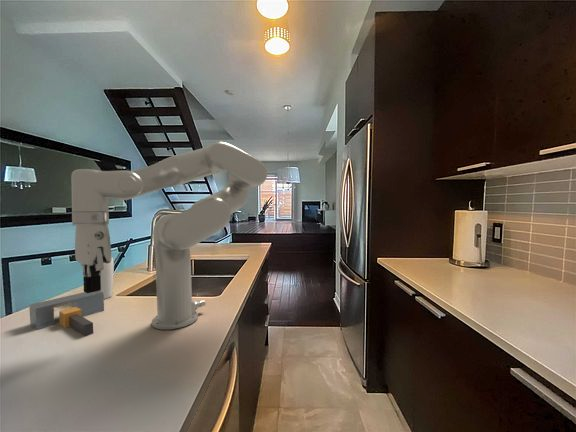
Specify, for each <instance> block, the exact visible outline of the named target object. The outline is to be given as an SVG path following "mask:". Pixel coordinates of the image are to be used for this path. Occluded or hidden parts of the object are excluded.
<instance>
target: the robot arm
mask: <svg viewBox="0 0 576 432" xmlns="http://www.w3.org/2000/svg"><path fill="white" fill-rule="evenodd" d="M220 172H221V173H222V172H225V173H227V174H228V181H227V184H226V186H225V187H224V188H222V189H220V190H217V192H214V193H212V194H210V195H208V196H205V197H204V198H201V199H198V200H197V201H195V202H193V203H192V205H191V206H190V208H188V209H186V210H184V211H182V212H180V213H177V214H176V213H175V214H174V213H170V214H165V215H163V216H161V217H160V218H158V219H157V221H156V222H155V223H154V226H153V230H152V238H153V246H154V256H155V283H156V285H155V286H156V307H157V308H156V311H157V315H156V316H154V317H153V318H152V320H151V326H152V327H153V328H155V329H157V330H175V329H180V328H184V327H187V326H189V325H191V324H193V323H195V322H196V321H197V320H198V317H199V313H198V312H197V310H198V309H199V308H202V307H204V306H206V301H205V299H202V300H199V301H197V300H193V297H192V296H193V295H192V265H191V264H192V263H191V262H192V261H191V260H192V259H191V251H190V248H191V247H194V246H195V245H197V244H199V243H201V242H203V241H206V239H208V238H209V237H211V236H213V235H216V234H217V233H218V232H220V231H222V230H223V229H224V228H225V227H226V226H227V225H228V224H229V222H230V220H231V218H232V217H231V216H232V214H234V213H236V212H237V211H239V210H240V209H241V208H242V207H244V206H245V204H246V202H247V199H248V198H249V197H248V196H249V191H250V188H255V187H259V186H261V185H263V184H264V183H265V182H266V179H267V177H268V170H267V168H266V166H265V164H264V163H263V162H262V161H261V160H260V159H258V158H256V157H254V156H252V155H250V153H247V152H245V151H243V150H242V149H240V148H238V147H236V146H235V145H233V144H230V143H228V142H224V141H216V142H213V143H212V144H210V145H209V146H206V147H202V148H198V149H194V150H191V151H188V152H184V153H180V154H179V153H178V154H176V155H171V156H169V157H167V158H164V159H162V160H160V161H158V162H155V163H154V164H150V165H149V166H145V167H142V168H139V169H135V170H132V171H131V170H127V169H126V170H123V169H121V170H98V169H93V168H92V169H91V168H90V169H89V168H80V169H79V168H78V169H75V170H73V171H72V172H71V175H70V177H71V184H70V185H71V225H72V226H75V235H74V236H75V237H74V253H75V254H74V257H75V260H76V262H77V263H79V264H80V266H81V267H82V276H83V278H82V279H83V292H86V293H91V292H96V291H100V290H101V270H103V269H104V266H103V263H110V262H111V257H112V245H111V236H110V235H111V234H110V229H109V224H110V221H109V220H110V219H109V217H110V214H109V198H113V199H114V198H115V199H116V200H120V201H128V200H132V199H135V198H137V197H140V196H144V195H147V194H151V193H153V192H157V191H159V190H162V189H168V188H174V187H178V186H180V185H184V184H186V183H187V184H188V183H190V182H193V181H196V180H197V181H198V180H200V179H202V178H206V177H210V176H212V175H216V174H218V173H220Z"/></svg>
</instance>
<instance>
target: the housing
mask: <svg viewBox="0 0 576 432" xmlns="http://www.w3.org/2000/svg"><path fill="white" fill-rule="evenodd" d="M104 300H105V299H104V295H103V292H101V291H96V292H91V293H86V292H84V291H83V292H79V293H75V294H71V295H66V296H61V297H57V298H53V299H48V300H44V301H40V302H36V303H35V302H34V303H31V304H29V305H28V306H29V320H30V321H29V322H30V326H31V327H32V328H33V329H35V330H36V331H37V330H40V329H44V328H48V327H51V326H55V311H54V309H55V308H58V307H61V306H66V305H70V304H71V307H70V308H73V307H77V308H79V309H81V315H82V317H83V318H84V317H85V316H89V315H93V314H96V313H99V312H100V313H101V312H103V311H105V301H104Z"/></svg>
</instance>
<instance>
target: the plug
mask: <svg viewBox="0 0 576 432" xmlns="http://www.w3.org/2000/svg"><path fill="white" fill-rule="evenodd" d="M58 313H59V314H58V315H59V325H60V326H61V327H63V328H65V329H67V328H71V329H73V330H74V331H75V332H77V333H78V334H80V335H81V336H84V337H88V336H91V335H93V334H94V322H92V321H90V320H89V319H87V318H85V317H84V316H83V317H82V315H81V309H79V308H77V307H73V308H72V307H69V308H66V309H63V310H59V312H58Z"/></svg>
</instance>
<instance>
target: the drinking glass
mask: <svg viewBox="0 0 576 432" xmlns="http://www.w3.org/2000/svg"><path fill="white" fill-rule="evenodd" d="M114 261H115V260H114V257H113V256H111V262H110V263H103V266H104V269H103V270H101V290H100V291H101V292H103V295H104V300H106V299H110V298H112V297H113V294H114V290H113V289H114V288H113V287H114V273H115V272H114V271H115V270H114V269H115V262H114Z"/></svg>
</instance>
